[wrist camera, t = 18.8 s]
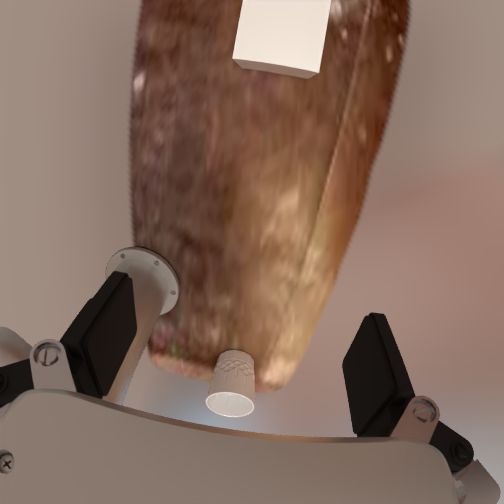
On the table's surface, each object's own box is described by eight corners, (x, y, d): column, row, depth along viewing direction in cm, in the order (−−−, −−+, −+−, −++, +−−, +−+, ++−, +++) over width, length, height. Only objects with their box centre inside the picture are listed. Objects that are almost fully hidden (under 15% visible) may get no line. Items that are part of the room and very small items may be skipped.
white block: (307, 79, 31) (318, 72, 23) (241, 68, 31) (232, 58, 23) (320, 7, 26) (333, -17, 18) (254, -4, 26) (249, -31, 18)
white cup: (206, 353, 53) (196, 396, 44) (245, 342, 51) (239, 388, 42) (227, 377, 56) (221, 419, 47) (264, 368, 54) (262, 412, 45)
